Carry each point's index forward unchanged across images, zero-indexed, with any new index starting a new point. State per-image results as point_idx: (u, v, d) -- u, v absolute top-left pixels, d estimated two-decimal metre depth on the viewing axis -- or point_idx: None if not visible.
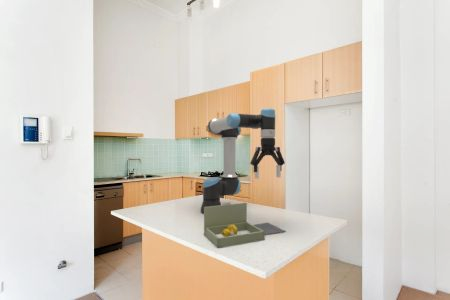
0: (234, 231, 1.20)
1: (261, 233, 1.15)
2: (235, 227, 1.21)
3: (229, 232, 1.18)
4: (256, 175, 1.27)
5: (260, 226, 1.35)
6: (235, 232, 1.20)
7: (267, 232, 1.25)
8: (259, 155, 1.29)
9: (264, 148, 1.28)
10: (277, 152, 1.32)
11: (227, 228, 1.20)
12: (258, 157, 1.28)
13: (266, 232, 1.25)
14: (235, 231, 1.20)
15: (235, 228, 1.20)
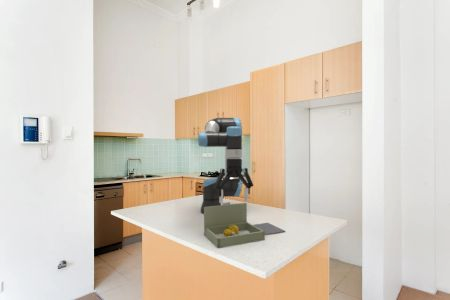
0: (235, 231, 1.20)
1: (261, 233, 1.15)
2: (236, 227, 1.21)
3: (230, 232, 1.18)
4: (220, 200, 1.16)
5: (260, 226, 1.35)
6: (236, 232, 1.20)
7: (267, 232, 1.25)
8: (224, 177, 1.18)
9: (229, 170, 1.17)
10: (245, 173, 1.21)
11: (229, 228, 1.20)
12: (223, 180, 1.17)
13: (266, 232, 1.25)
14: (236, 231, 1.20)
15: (236, 228, 1.20)
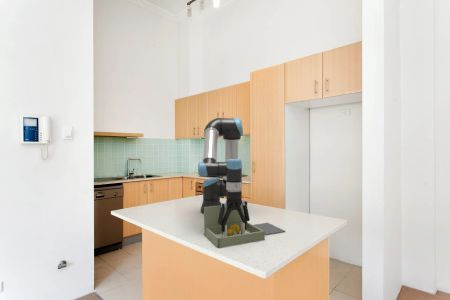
0: (237, 231, 1.20)
1: (261, 233, 1.15)
2: (238, 227, 1.21)
3: (232, 232, 1.18)
4: (224, 235, 1.17)
5: (260, 226, 1.35)
6: (238, 232, 1.20)
7: (267, 232, 1.25)
8: (226, 211, 1.18)
9: (229, 203, 1.17)
10: (244, 207, 1.21)
11: (230, 228, 1.20)
12: (225, 214, 1.18)
13: (266, 232, 1.25)
14: (238, 231, 1.20)
15: (238, 228, 1.21)
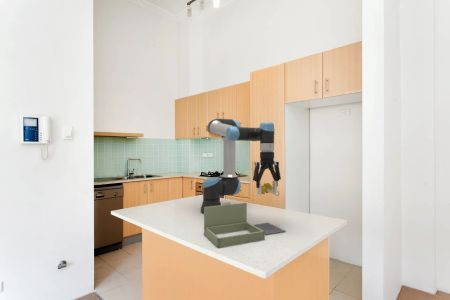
0: (269, 188, 1.32)
1: (261, 233, 1.15)
2: (270, 185, 1.33)
3: (265, 188, 1.30)
4: (258, 191, 1.29)
5: (260, 226, 1.35)
6: (270, 189, 1.32)
7: (267, 232, 1.25)
8: None
9: (263, 162, 1.29)
10: (275, 166, 1.33)
11: (263, 185, 1.32)
12: (259, 172, 1.30)
13: (266, 232, 1.25)
14: (270, 188, 1.32)
15: (270, 185, 1.32)
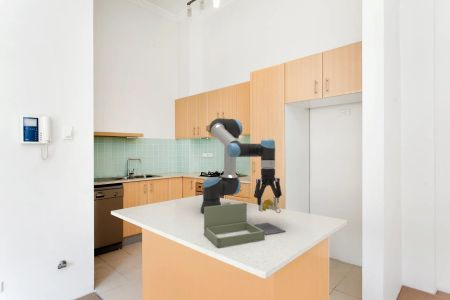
0: (270, 204, 1.32)
1: (261, 233, 1.15)
2: (271, 201, 1.33)
3: None
4: (260, 208, 1.29)
5: (260, 226, 1.35)
6: (271, 205, 1.32)
7: (267, 232, 1.25)
8: None
9: (264, 179, 1.29)
10: (276, 183, 1.33)
11: (264, 202, 1.32)
12: (260, 189, 1.30)
13: (266, 232, 1.25)
14: (271, 204, 1.32)
15: (271, 202, 1.33)
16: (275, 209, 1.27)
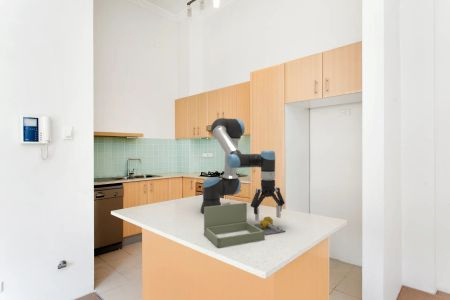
0: (270, 222, 1.32)
1: (261, 233, 1.15)
2: (271, 218, 1.33)
3: (266, 223, 1.30)
4: (256, 217, 1.28)
5: (260, 226, 1.35)
6: (271, 223, 1.32)
7: (267, 232, 1.25)
8: (259, 197, 1.30)
9: (264, 190, 1.29)
10: (277, 193, 1.34)
11: (264, 219, 1.32)
12: (258, 199, 1.30)
13: (266, 232, 1.25)
14: (271, 222, 1.32)
15: (271, 219, 1.33)
16: (275, 227, 1.27)
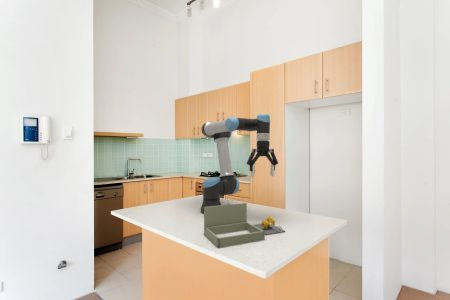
0: (272, 222, 1.32)
1: (261, 233, 1.15)
2: (273, 219, 1.33)
3: None
4: (251, 174, 1.42)
5: (260, 226, 1.35)
6: (273, 223, 1.32)
7: (267, 232, 1.25)
8: (255, 156, 1.44)
9: (259, 150, 1.42)
10: (271, 153, 1.47)
11: (266, 220, 1.32)
12: (254, 158, 1.43)
13: (266, 232, 1.25)
14: (273, 222, 1.32)
15: (273, 220, 1.32)
16: (277, 228, 1.26)
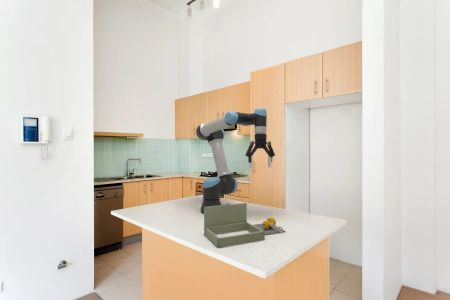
0: (273, 223, 1.31)
1: (261, 233, 1.15)
2: (274, 219, 1.32)
3: None
4: (250, 165, 1.50)
5: (260, 226, 1.35)
6: (274, 224, 1.31)
7: (267, 232, 1.25)
8: (253, 148, 1.52)
9: (257, 142, 1.51)
10: (268, 146, 1.55)
11: (267, 220, 1.31)
12: (252, 150, 1.51)
13: (266, 232, 1.25)
14: (274, 223, 1.31)
15: (274, 220, 1.32)
16: (278, 228, 1.26)
